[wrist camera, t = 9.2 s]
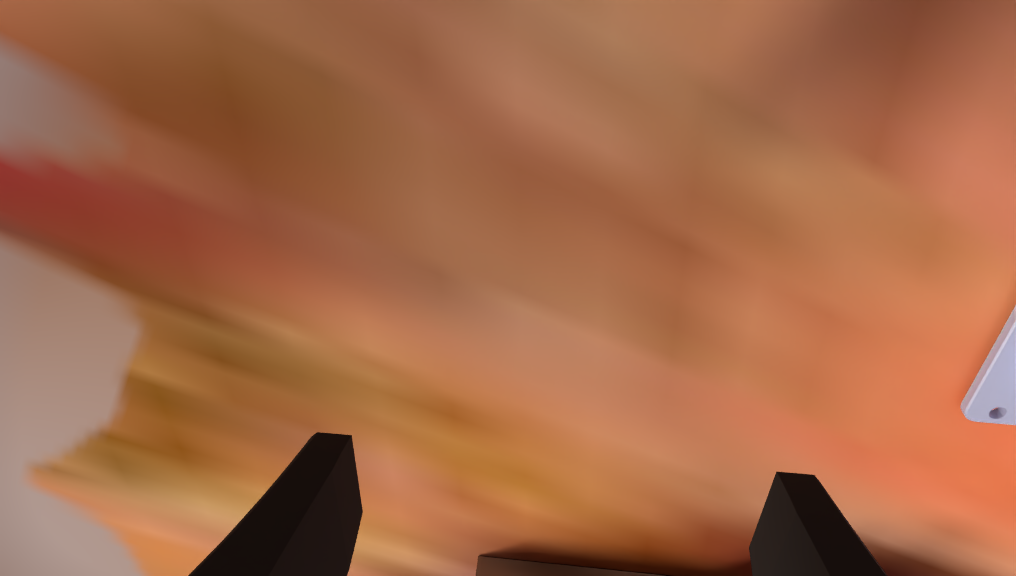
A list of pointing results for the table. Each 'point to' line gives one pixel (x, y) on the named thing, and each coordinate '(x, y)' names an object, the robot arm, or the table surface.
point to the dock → (541, 569)
